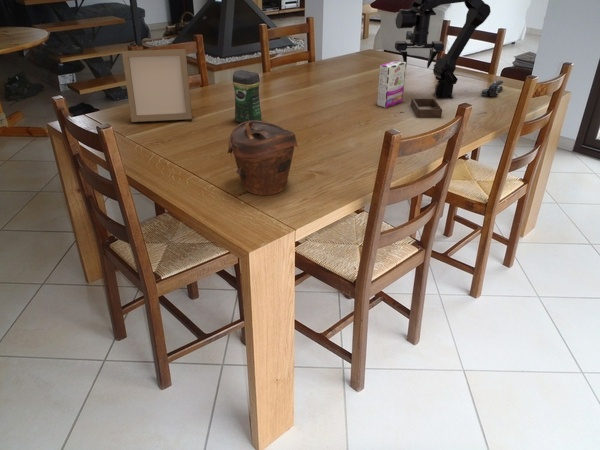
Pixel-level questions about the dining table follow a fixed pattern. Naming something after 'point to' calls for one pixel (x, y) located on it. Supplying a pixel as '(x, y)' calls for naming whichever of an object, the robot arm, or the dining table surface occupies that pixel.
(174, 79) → the photo frame
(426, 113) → the compartment
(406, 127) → the dining table surface
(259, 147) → the brown bucket
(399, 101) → the candy bar box
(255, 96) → the coffee jar
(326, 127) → the dining table surface
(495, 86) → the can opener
